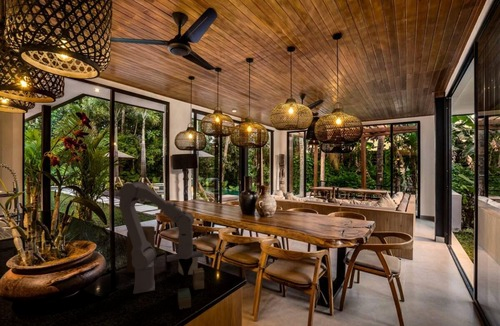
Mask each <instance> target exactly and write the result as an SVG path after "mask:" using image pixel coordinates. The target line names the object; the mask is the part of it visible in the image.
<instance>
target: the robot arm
mask: <svg viewBox="0 0 500 326" xmlns="http://www.w3.org/2000/svg"><path fill="white" fill-rule="evenodd" d="M118 193H119V203H118V206H119V209H120V213H121V216H122V218H123V221H124V224H125V227H126V230H127V231H128V233H129V236H130V239H131V242H132V245H133V249H132V252H131V255H132V265H133V267H134V268H135V273H134V286H133V292H132V293H133V295H136V294H141V293H142V294H143V293H147V292H148V293H149V292H153V291H155V290H156V286H155V285H156V282H155V264H154V259H155V260H156V257H157V251H156V248H155V249H154V248H153V247H152V245H151V243H149V242H148V241H147V240H146V237H145V235H144V232H143V229H142V226H143V225H142V223H141V220H140V217H139V214H138V212H137V209H136V206H135V205H136V204H137V202H138V201H139V199H146V200H147V201H149V202H151V203H152V204H153V205H155V206H156V207H158V208H160V209H161V210H162V214H163V215H165V216H166V218H168V219H170V220H171V221H172V222H174V223H175V225H176V227H177V229H178V234H177V235H178V237H177V238H178V239H177V240H178V242H177V243H178V248H177V249H178V250H177V251H178V252H177V253H174V254H169V255H166V262H169V263H170V262H172V261H178V264H179V263H180V265H181V267H182V270H183V274H184V275H183V278H188V277H189V275H188V272H189V269H190V266H191V264H192V262H193V259H192V258H196V257H198V258H204V255H205V253H204V251H203V250H202V251H201V250H200V251H198V250H197V251H193V244H194V237H193V235H194V231H193V224H194V222H195V216H194V215H193V214H192V212H189V211H188V212H187V210H185V209H184V210H183V209H182V208H181V207H179V206H178V203H176V202H172V201H171V202H168V201H167V200H165V199H164V198H162V197H161V195H159V194H158V193H157V192H156V191H154V190H153V189H152V188H151V187H150V186H149V185H148V184H146V183H144V182H142V181H136V182H126V183H124V184H123V185H122V186H121V187H120V190H119V191H118Z"/></svg>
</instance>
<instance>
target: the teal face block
mask: <svg viewBox="0 0 500 326" xmlns="http://www.w3.org/2000/svg"><path fill="white" fill-rule="evenodd" d="M177 303H178V309H179V310H183V308H184V309H189V308H191V307H192V295H191V291H190V288H189V287H184V288H179V289H177Z"/></svg>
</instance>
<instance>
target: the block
mask: <svg viewBox="0 0 500 326" xmlns="http://www.w3.org/2000/svg"><path fill="white" fill-rule="evenodd" d="M141 226H142V229H143V232H144V235H145V237H146V240H147V241H148V242H149V243H151V245H152V247H153V248H154V249H155V250H156V245H155V244H156V243H155V242H156V241H155V240H156V236H155V235H156V234H155V233H156V227H155V226H154V225H153V226H152V225H141ZM132 249H133V245H132V242H131V239H130V236H129V233H128V230H127V232H126V273H127V274H128V273H129V274H135V268H134V267H133V265H132V255H131V252H132ZM155 260H156V258H155V259H154V265H155V264H156V262H155Z"/></svg>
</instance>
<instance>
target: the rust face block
mask: <svg viewBox="0 0 500 326" xmlns="http://www.w3.org/2000/svg"><path fill="white" fill-rule="evenodd" d="M192 287H193V290H194V291H196V290H198V291H199V290H202V289H205V270H204V268H203V267H200V268H197V269H193V274H192Z"/></svg>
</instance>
